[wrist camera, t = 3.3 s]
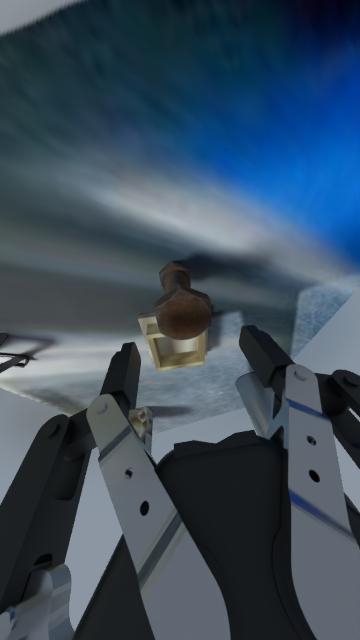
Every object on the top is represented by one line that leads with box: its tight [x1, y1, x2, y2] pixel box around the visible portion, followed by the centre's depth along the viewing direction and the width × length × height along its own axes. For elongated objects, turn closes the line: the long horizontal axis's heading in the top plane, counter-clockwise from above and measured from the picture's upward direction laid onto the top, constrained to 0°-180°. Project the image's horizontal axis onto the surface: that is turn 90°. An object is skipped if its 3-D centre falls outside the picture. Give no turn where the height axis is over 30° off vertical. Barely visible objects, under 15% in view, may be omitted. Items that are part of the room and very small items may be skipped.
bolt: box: [154, 262, 212, 340], centre depth 19 cm, size 6×5×15 cm
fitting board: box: [138, 313, 208, 371], centre depth 32 cm, size 14×14×5 cm
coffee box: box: [129, 407, 153, 454], centre depth 48 cm, size 9×6×16 cm
